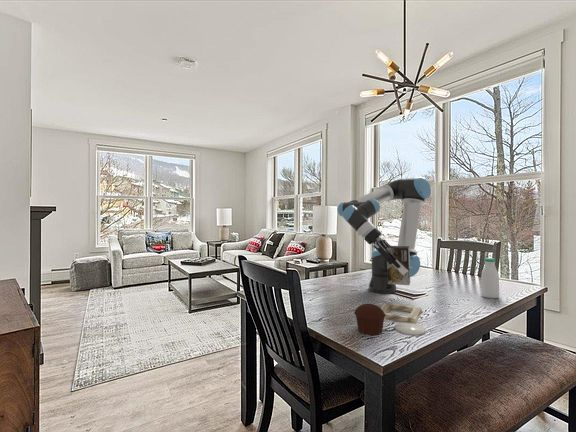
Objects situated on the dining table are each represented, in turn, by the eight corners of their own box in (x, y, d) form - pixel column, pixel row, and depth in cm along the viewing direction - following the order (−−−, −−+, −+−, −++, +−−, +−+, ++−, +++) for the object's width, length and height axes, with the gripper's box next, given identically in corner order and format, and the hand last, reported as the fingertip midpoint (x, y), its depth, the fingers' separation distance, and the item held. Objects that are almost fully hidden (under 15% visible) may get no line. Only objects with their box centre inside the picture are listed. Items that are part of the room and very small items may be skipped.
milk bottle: (501, 299, 158) (501, 259, 158) (484, 298, 160) (484, 259, 159) (494, 294, 166) (494, 257, 165) (478, 294, 167) (478, 257, 167)
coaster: (391, 331, 119) (391, 329, 119) (398, 322, 128) (398, 320, 128) (423, 337, 113) (423, 335, 113) (427, 327, 122) (427, 325, 122)
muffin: (390, 330, 120) (390, 304, 120) (377, 339, 112) (377, 311, 111) (362, 323, 128) (362, 298, 127) (348, 331, 119) (348, 305, 119)
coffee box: (410, 282, 138) (410, 245, 137) (409, 285, 132) (409, 247, 131) (389, 280, 142) (388, 245, 141) (387, 284, 136) (386, 247, 135)
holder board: (376, 317, 134) (375, 312, 134) (385, 307, 148) (385, 302, 148) (415, 323, 126) (415, 318, 126) (421, 312, 140) (421, 307, 140)
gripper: (370, 236, 153) (405, 272, 145) (356, 240, 136) (396, 281, 128) (380, 225, 150) (417, 262, 142) (368, 228, 133) (409, 270, 125)
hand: (407, 271), depth 135 cm, fingers closed on coffee box, 7 cm apart
